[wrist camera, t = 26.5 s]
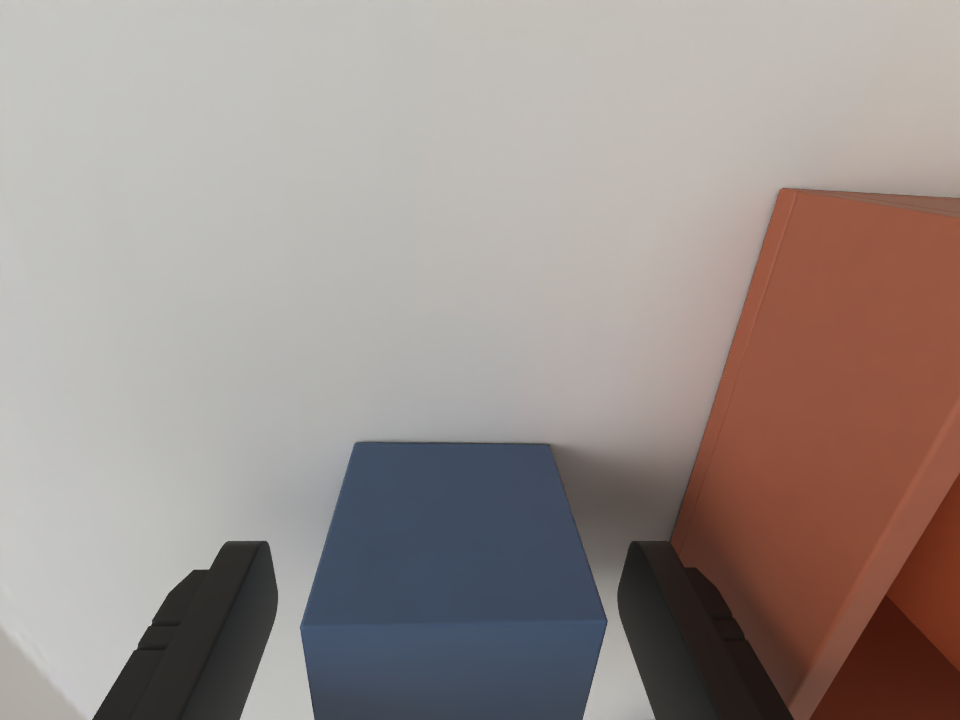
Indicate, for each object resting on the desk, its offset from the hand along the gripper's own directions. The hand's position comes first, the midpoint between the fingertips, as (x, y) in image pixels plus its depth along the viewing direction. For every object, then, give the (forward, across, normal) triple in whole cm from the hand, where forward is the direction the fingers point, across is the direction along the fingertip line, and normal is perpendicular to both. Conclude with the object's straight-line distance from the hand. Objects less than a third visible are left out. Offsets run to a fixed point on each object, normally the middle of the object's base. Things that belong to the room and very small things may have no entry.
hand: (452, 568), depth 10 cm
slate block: (+2, 0, 0) cm, 2 cm away
